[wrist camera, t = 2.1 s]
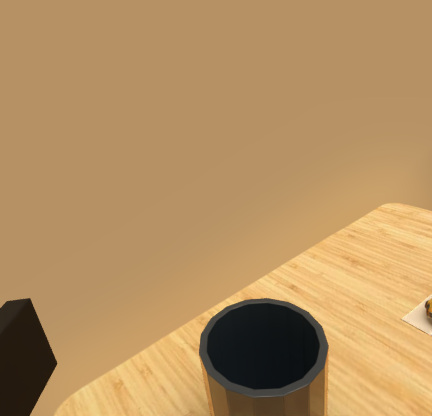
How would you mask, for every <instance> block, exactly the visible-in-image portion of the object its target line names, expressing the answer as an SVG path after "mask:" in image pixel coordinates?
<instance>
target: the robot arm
mask: <svg viewBox="0 0 432 416" xmlns="http://www.w3.org/2000/svg"><path fill="white" fill-rule="evenodd" d="M56 365H57V361H56V359H55V357H54V354H53V352H52V349H51V347H50V345H49V342H48V340H47V337H46V335H45V333H44V330H43V328H42V326H41V323H40V321H39V319H38V316H37V314H36V312H35V309H34V307H33V304H32V302H31V299H30V298H28V299H20V300H13V301H7V302H6V303H5V304H4V305H3V306H2V307H1V308H0V416H30V414H31V412H32V410H33V408H34V406H35V405H36V403H37V401H38V399H39V397H40V395H41V393H42V391H43V390H44V388H45V386H46V384H47V382H48V380H49V378H50V376H51V375H52V373H53V371H54V369H55V367H56Z"/></svg>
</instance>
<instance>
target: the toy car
mask: <svg viewBox="0 0 432 416" xmlns="http://www.w3.org/2000/svg"><path fill="white" fill-rule="evenodd" d="M402 320H404V321H406V322H407V323H409V324H411V325H413V326H415V327H417V328H418V329H420V330H422V331H424V332H426V333H427V334H429V335H431V336H432V294H431V295H430V296H429V297H428V298H426V299H425V300H424V301H423V302H421V303H420V304H419V305H418V306H416V307H415V308H414V309H413V310H412V311H410V312H409V313H408V314H407V315H405V316H404V317H403V318H402Z"/></svg>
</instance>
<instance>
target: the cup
mask: <svg viewBox="0 0 432 416" xmlns="http://www.w3.org/2000/svg"><path fill="white" fill-rule="evenodd" d="M199 356H200V362H201V367H202V372H203V377H204V383H205V388H206V393H207V399H208V404H209V409H210V414H211V416H327V413H328V357H329V345H328V342H327V339H326V336H325V334H324V331H323V328H322V326H321V325H320V324H319V323H318V322H317V321H316V320H315V319H314V318H313V317H312V316H311V314H310V313H309V312H307V311H305V310H303V309H301V308H299V307H297V306H295V305H293V304H291V303H289V302H285V301H280V300H275V299H269V298H264V299H250V300H244V301H241V302H239V303H236V304H233V305H230V306H227V307H226V308H224V309H223V310H222V311H220V312H219V313H218V314H216V315H215V316H214V317H212V318H211V319H210V321H209V322H208V324H207V326H206V327H205V329H204V330H203V332H202V333H201V338H200V347H199Z"/></svg>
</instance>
